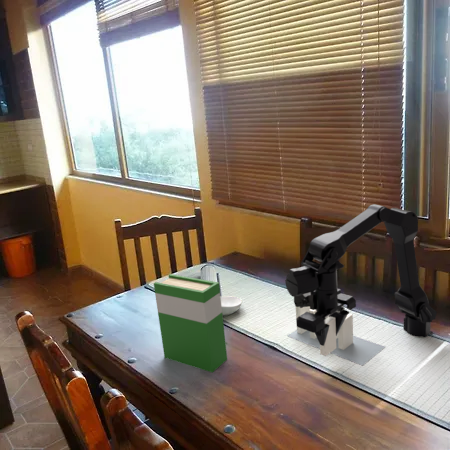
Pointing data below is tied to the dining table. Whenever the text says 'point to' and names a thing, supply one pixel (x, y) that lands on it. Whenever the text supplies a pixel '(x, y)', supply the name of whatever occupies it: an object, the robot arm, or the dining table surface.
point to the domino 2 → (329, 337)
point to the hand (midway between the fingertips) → (328, 340)
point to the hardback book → (191, 321)
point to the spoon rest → (230, 304)
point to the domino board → (355, 352)
